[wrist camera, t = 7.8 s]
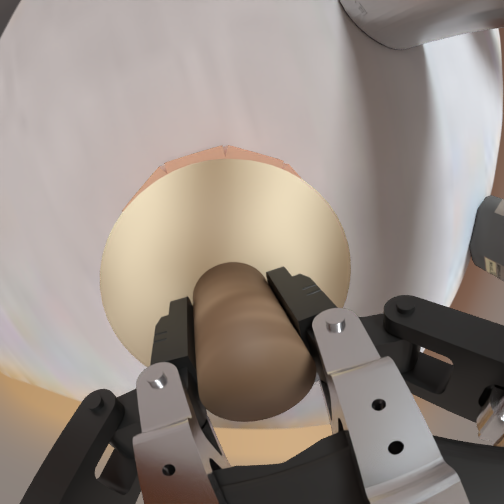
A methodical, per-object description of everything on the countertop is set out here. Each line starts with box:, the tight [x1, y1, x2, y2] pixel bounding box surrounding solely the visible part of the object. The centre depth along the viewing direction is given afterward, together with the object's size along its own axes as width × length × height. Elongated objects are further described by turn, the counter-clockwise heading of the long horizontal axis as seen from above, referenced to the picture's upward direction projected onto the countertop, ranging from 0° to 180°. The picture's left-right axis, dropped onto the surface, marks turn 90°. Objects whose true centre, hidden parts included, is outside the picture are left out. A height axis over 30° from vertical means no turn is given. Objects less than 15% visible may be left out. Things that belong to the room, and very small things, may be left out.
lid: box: [100, 159, 351, 422], centre depth 9 cm, size 11×11×6 cm
